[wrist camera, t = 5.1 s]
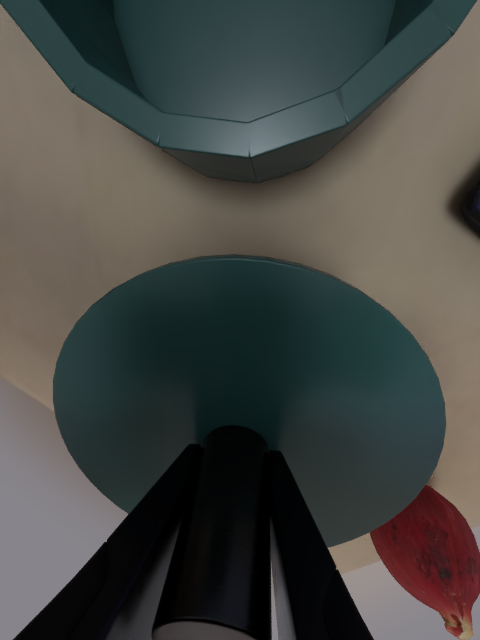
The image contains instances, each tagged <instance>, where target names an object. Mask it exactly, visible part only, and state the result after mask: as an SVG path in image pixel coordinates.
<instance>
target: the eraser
mask: <svg viewBox="0 0 480 640" xmlns="http://www.w3.org/2000/svg"><path fill="white" fill-rule="evenodd" d="M461 214H462V217H463V218H464V220H465V221H466V222H467V223H468V224H469V225H470V226H471V227H472V228H473V229H474V230H475V231H476V232H478V233H479V234H480V181H479V182H478V183H477V184H476V186H475V187H474V188H473V189H472V190H471V191H470V192H469V194H468V195H467V196H466V198H465V200H464V202H463V204H462V209H461Z"/></svg>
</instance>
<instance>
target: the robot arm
mask: <svg viewBox="0 0 480 640" xmlns="http://www.w3.org/2000/svg"><path fill="white" fill-rule="evenodd" d="M200 452H201V445H200V444H189V445H188V446H187V447H186V448H185V449H184V450H183V451H182V453H181V454H180V455H179V456H178V457H177V458H176V460H175V461H174V462H173V463H172V464H171V465H170V467H169V468H168V469H167V470H166V471H165V472H164V474H163V475H162V476H161V477H160V478H159V479H158V481H157V482H156V483H155V484H154V485H153V486H152V488H151V489H150V490H149V491H148V492H147V493H146V495H145V496H144V497H143V498H142V499H141V500H140V502H139V503H138V504H137V505H136V506H135V507H134V509H133V510H132V511H131V512H130V513H129V514H128V516H127V517H126V518H125V519H124V520H123V522H122V523H121V524H120V525H119V526H118V527H117V529H116V530H115V531H114V532H113V533H112V534H111V536H110V537H109V538H108V539H107V542H104V543H103V545H102V546H101V547H100V548H99V549H98V551H97V552H96V553H95V554H94V555H93V556H92V558H91V559H90V560H89V561H88V562H87V563H86V564H85V565H84V567H83V568H82V569H81V570H80V571H79V572H78V573H77V574H76V576H75V577H74V578H73V579H72V580H71V581H70V582H69V583H68V584H67V585H66V586H65V587H64V588H63V589H62V590H61V591H60V592H59V593H58V594H57V595H56V596H55V598H53V600H52V601H51V602H50V603H49V604H48V605H47V606H46V607H45V608H44V609H43V610H42V611H41V612H40V613H39V614H38V615H37V616H36V617H35V618H34V619H33V620H32V621H31V622H30V623H29V624H28V625H27V626H26V627H25V628H24V629H23V630H22V631H21V632H20V633H19V634H18V635H17V636H16V637H15V638H14V639H13V640H152V637H151V631H152V626H153V623H154V619H155V615H156V612H157V608H158V604H159V601H160V597H161V594H162V590H163V586H164V583H165V579H166V575H167V572H168V568H169V565H170V561H171V557H172V554H173V550H174V546H175V543H176V539H177V536H178V532H179V528H180V525H181V521H182V517H183V514H184V510H185V507H186V503H187V499H188V496H189V492H190V488H191V485H192V481H193V478H194V474H195V470H196V467H197V463H198V459H199V456H200ZM269 499H270V544H271V563H272V574H273V584H274V595H275V606H276V616H277V627H278V637H279V640H374V639H373V637H372V636H371V633H370V632H369V630H368V628H367V626H366V624H365V623H364V621H363V619H362V617H361V615H360V613H359V611H358V609H357V607H356V605H355V603H354V601H353V599H352V597H351V596H350V593H349V592H348V589H347V588H346V585H345V583H344V581H343V579H342V577H341V575H340V573H339V571H338V570H336V565H335V563H334V560H333V558H332V556H331V554H330V552H329V550H328V548H327V546H326V544H325V542H324V539H323V537H322V535H321V533H320V531H319V529H318V527H317V525H316V523H315V521H314V518H313V516H312V514H311V512H310V510H309V508H308V506H307V504H306V502H305V500H304V498H303V495H302V493H301V491H300V489H299V487H298V485H297V483H296V481H295V479H294V477H293V474H292V472H291V470H290V468H289V466H288V464H287V462H286V460H285V458H284V456H283V453H282V452H281V451H279V450H270V451H269Z"/></svg>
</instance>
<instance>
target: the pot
mask: <svg viewBox="0 0 480 640" xmlns="http://www.w3.org/2000/svg"><path fill="white" fill-rule="evenodd" d="M476 1H477V0H0V4H1V5H2V6H3V7H4V9H5V10H6V11H7V12H8V14H9V15H10V16H11V17H12V19H13V20H14V21H15V22H16V24H17V25H18V26H19V27H20V29H21V30H22V31H23V32H24V34H25V35H26V36H27V37H28V39H29V40H30V41H31V42H32V44H33V45H34V46H35V47H36V49H37V50H38V51H39V52H40V54H41V55H42V56H43V57H44V59H45V60H46V61H47V62H48V64H49V65H50V66H51V67H52V69H53V70H54V71H55V72H56V74H57V75H58V76H59V77H60V79H61V80H62V81H63V82H64V84H65V85H66V86H67V87H68V89H69V90H70V91H71V92H72V93H74V94H75V95H76V96H77V97H79V98H80V99H82V100H84V101H85V102H87V103H88V104H90V105H92V106H93V107H95V108H96V109H98V110H100V111H101V112H103V113H104V114H106V115H108V116H109V117H111V118H112V119H114V120H115V121H117V122H119V123H120V124H122V125H123V126H125V127H127V128H128V129H130V130H131V131H133V132H135V133H136V134H138V135H139V136H141V137H143V138H144V139H146V140H147V141H149V142H151V143H152V144H154V145H155V146H157V147H159V148H160V149H162V150H164V151H165V152H167V153H169V154H170V155H172V156H173V157H175V158H177V159H178V160H180V161H182V162H183V163H185V164H187V165H188V166H190V167H192V168H193V169H195V170H197V171H198V172H200V173H202V174H203V175H206V176H207V177H214V178H221V179H226V180H231V181H244V182H252V183H259V182H263V181H266V180H269V179H273V178H277V177H281V176H284V175H286V174H289V173H291V172H294V171H297V170H300V169H303V168H306V167H309V166H310V165H312V164H313V163H314V162H316V161H317V160H318V159H319V158H320V157H322V156H323V155H324V154H325V153H326V152H328V151H329V150H330V149H331V148H333V147H334V146H335V145H336V144H337V143H338V142H339V141H341V140H342V139H343V138H344V137H345V136H347V135H348V134H349V133H350V132H351V131H353V130H354V129H355V128H356V127H357V126H359V125H360V124H361V123H362V122H363V121H364V120H365V119H366V118H367V117H368V116H369V115H370V114H371V113H372V112H373V111H374V110H376V109H377V108H378V107H379V106H380V105H381V104H382V103H383V102H384V101H385V100H386V99H387V98H388V97H389V96H390V95H391V94H392V93H393V92H395V91H396V90H397V89H398V88H399V87H400V86H401V85H402V84H403V83H404V82H405V81H406V80H407V79H408V78H409V77H410V76H411V75H412V74H413V73H415V72H416V71H417V70H418V69H419V68H420V67H421V66H422V65H423V64H424V63H425V62H426V61H427V60H428V59H429V58H430V57H431V56H432V55H434V54H435V53H436V52H437V51H438V50H439V49H440V48H441V47H442V46H443V45H444V44H445V43H446V42H447V41H448V40H449V39H450V38H451V37H452V36H453V35H454V34H455V32H456V31H457V29H458V28H459V26H460V25H461V24H462V22H463V21H464V19H465V18H466V16H467V15H468V13H469V12H470V10H471V9H472V7H473V6H474V4H475V3H476Z"/></svg>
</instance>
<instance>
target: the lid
mask: <svg viewBox="0 0 480 640" xmlns="http://www.w3.org/2000/svg"><path fill="white" fill-rule="evenodd" d="M53 404H54V410H55V417H56V420H57V424H58V427H59V430H60V433H61V436H62V438H63V440H64V442H65V445H66V447H67V449H68V451H69V453H70V454H71V456H72V457H73V459H74V461H75V462H76V464H77V465H78V467H79V468H80V469H81V470H82V472H83V473H84V474H85V476H86V477H87V478H88V479H89V480H90V482H91V483H92V484H93V485H94V486H95V487H97V489H98V490H99V491H100V492H101V493H102V494H103V495H105V496H106V497H107V498H108V499H110V500H111V501H112V502H113V503H114V504H115V505H117V506H118V507H119V508H121V509H122V510H124V511H125V512H127V513H128V514H129V513H130V512H131V511H132V510H133V509H134V507H135V506H136V505H137V504H138V503H139V502H140V500H141V499H142V498H143V497H144V496H145V495H146V493H147V492H148V491H149V490H150V489H151V488H152V486H153V485H154V484H155V483H156V482H157V481H158V479H159V478H160V477H161V476H162V475H163V474H164V472H165V471H166V470H167V469H168V468H169V467H170V465H171V464H172V463H173V462H174V461H175V460H176V458H177V457H178V456H179V455H180V454H181V453H182V451H183V450H184V449H185V448H186V447H187V446H188V445H189V444H200V445H201V452H200V456H199V459H198V463H197V467H196V470H195V474H194V478H193V481H192V485H191V488H190V492H189V496H188V499H187V503H186V507H185V510H184V514H183V517H182V521H181V525H180V528H179V532H178V536H177V539H176V543H175V546H174V550H173V554H172V557H171V561H170V565H169V568H168V572H167V575H166V579H165V583H164V586H163V590H162V594H161V597H160V601H159V604H158V608H157V612H156V615H155V619H154V623H153V626H152V631H151V637H152V640H272V635H271V634H272V633H271V632H272V631H271V630H272V629H271V544H270V499H269V451H270V450H279V451H281V452H282V453H283V456H284V458H285V460H286V462H287V464H288V466H289V468H290V470H291V472H292V474H293V477H294V479H295V481H296V483H297V485H298V487H299V489H300V491H301V493H302V495H303V498H304V500H305V502H306V504H307V506H308V508H309V510H310V512H311V514H312V516H313V518H314V521H315V523H316V525H317V527H318V529H319V531H320V533H321V535H322V537H323V539H324V542H325V544H326V546H327V548H328V547H332V546H336V545H339V544H342V543H345V542H348V541H351V540H353V539H355V538H358V537H360V536H362V535H365V534H367V533H369V532H371V531H373V530H374V529H376V528H378V527H380V526H381V525H383V524H385V523H386V522H388V521H389V520H390V519H392V518H393V517H395V516H396V515H397V514H399V513H400V512H401V511H402V510H403V509H404V508H406V507H407V506H408V505H409V504H410V503H411V502H412V501H413V500H414V499H415V498H416V497H417V495H418V494H419V493H420V491H421V490H422V489H423V488H424V486H425V485H426V484H427V482H428V480H429V479H430V477H431V475H432V473H433V471H434V469H435V468H436V466H437V463H438V460H439V457H440V454H441V451H442V448H443V444H444V437H445V429H446V416H445V402H444V398H443V394H442V391H441V387H440V383H439V379H438V377H437V375H436V373H435V371H434V369H433V366H432V364H431V362H430V360H429V358H428V356H427V355H426V353H425V352H424V350H423V349H422V348H421V346H420V345H419V343H418V342H417V341H416V339H415V338H414V336H413V335H412V334H411V333H410V332H409V331H408V330H407V329H406V328H405V327H404V326H403V325H402V324H401V323H400V322H399V321H398V320H397V319H396V318H395V317H394V316H393V315H392V314H391V313H390V312H389V311H388V310H386V309H385V308H384V307H383V306H381V305H380V304H378V303H377V302H376V301H374V300H373V299H372V298H370V297H369V296H367V295H366V294H365V293H363V292H362V291H360V290H359V289H357V288H355V287H353V286H351V285H349V284H348V283H346V282H344V281H342V280H340V279H338V278H336V277H334V276H332V275H330V274H327V273H324V272H322V271H319V270H316V269H313V268H310V267H308V266H305V265H302V264H299V263H294V262H289V261H284V260H280V259H275V258H270V257H262V256H249V255H235V254H233V255H216V256H201V257H196V258H191V259H186V260H181V261H176V262H172V263H169V264H166V265H163V266H160V267H157V268H155V269H152V270H149V271H146V272H144V273H142V274H140V275H138V276H136V277H134V278H132V279H130V280H128V281H126V282H125V283H123V284H121V285H119V286H117V287H115V288H114V289H112V290H111V291H110V292H108V293H107V294H106V295H104V296H103V297H102V298H101V299H99V300H98V301H97V302H95V303H94V304H93V305H92V306H91V307H90V308H89V309H88V310H87V311H86V313H85V314H84V315H83V316H82V317H81V318H80V319H79V320H78V321H77V322H76V324H75V326H74V327H73V329H72V330H71V332H70V334H69V335H68V337H67V338H66V340H65V342H64V344H63V347H62V349H61V352H60V355H59V357H58V360H57V363H56V368H55V374H54V379H53Z"/></svg>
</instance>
